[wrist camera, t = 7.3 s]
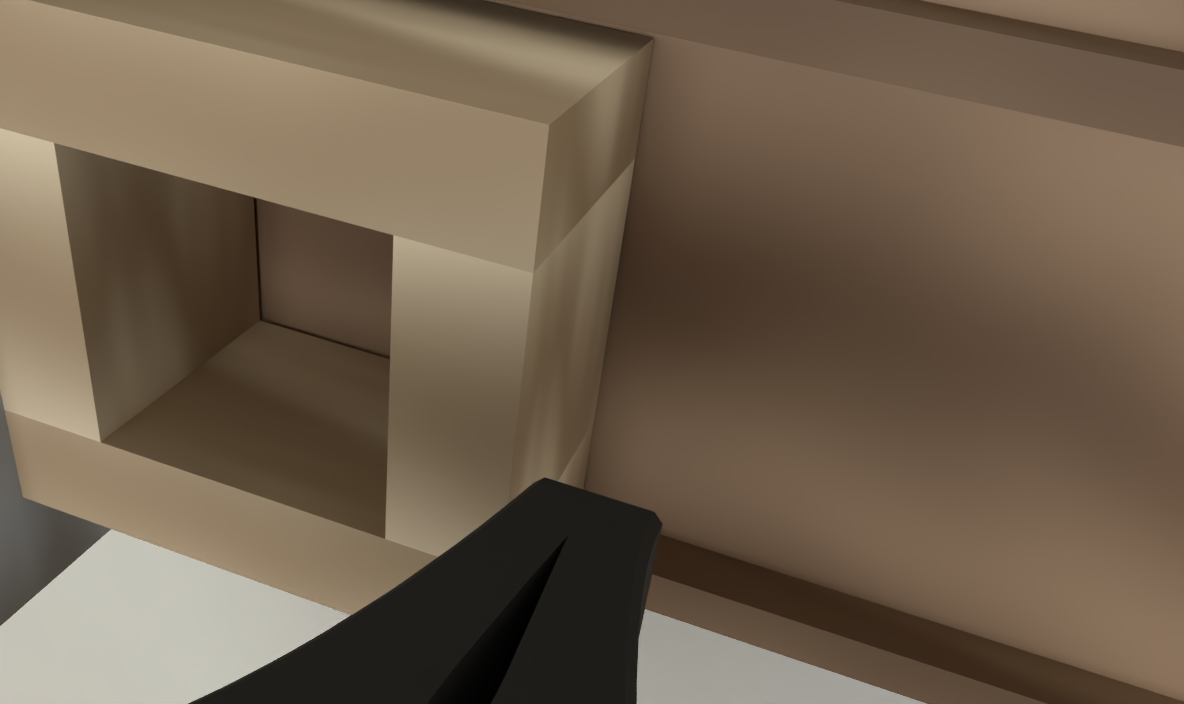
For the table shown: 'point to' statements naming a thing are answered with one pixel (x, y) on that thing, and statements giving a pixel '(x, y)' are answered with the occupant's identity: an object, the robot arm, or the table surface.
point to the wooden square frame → (230, 282)
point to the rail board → (866, 339)
